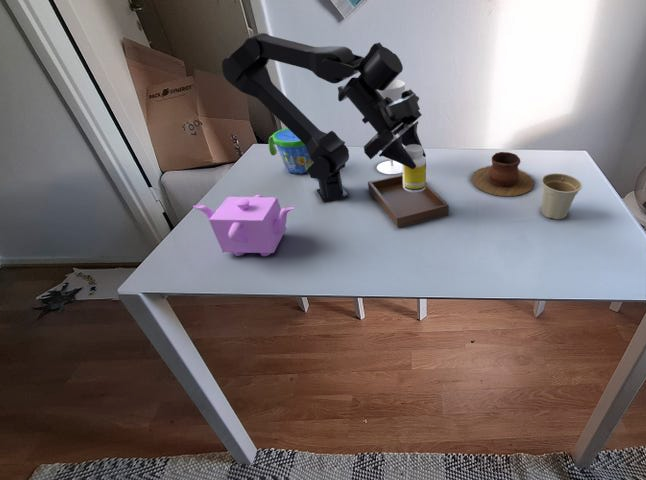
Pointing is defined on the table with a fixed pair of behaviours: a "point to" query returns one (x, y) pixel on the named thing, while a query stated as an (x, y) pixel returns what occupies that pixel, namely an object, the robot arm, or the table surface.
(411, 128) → the robot arm
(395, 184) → the tray
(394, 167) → the wineglass
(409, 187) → the supplement bottle
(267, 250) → the teapot
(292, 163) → the snack cup
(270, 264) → the table surface
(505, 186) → the ceramic pot
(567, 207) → the flower pot
